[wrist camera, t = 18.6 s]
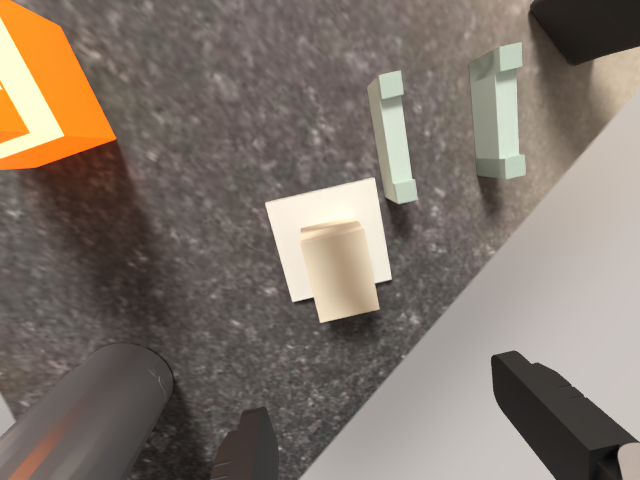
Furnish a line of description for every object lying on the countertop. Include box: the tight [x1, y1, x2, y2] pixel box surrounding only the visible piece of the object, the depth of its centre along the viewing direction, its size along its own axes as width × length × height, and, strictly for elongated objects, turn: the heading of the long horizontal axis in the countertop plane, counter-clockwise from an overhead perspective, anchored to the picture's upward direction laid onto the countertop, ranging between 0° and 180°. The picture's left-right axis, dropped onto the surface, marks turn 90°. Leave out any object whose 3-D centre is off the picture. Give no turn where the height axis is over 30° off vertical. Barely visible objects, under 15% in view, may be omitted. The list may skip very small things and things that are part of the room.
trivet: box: [265, 178, 392, 302], centre depth 29 cm, size 10×10×1 cm
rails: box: [367, 42, 526, 204], centre depth 25 cm, size 10×10×4 cm
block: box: [300, 216, 379, 323], centre depth 27 cm, size 5×7×5 cm
